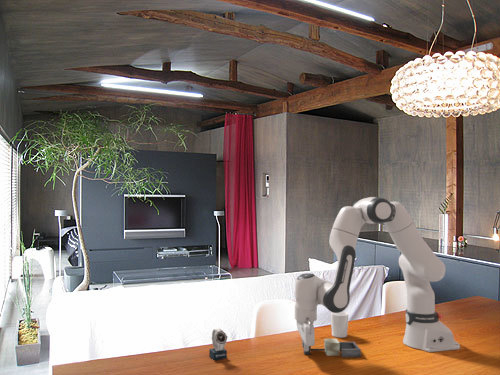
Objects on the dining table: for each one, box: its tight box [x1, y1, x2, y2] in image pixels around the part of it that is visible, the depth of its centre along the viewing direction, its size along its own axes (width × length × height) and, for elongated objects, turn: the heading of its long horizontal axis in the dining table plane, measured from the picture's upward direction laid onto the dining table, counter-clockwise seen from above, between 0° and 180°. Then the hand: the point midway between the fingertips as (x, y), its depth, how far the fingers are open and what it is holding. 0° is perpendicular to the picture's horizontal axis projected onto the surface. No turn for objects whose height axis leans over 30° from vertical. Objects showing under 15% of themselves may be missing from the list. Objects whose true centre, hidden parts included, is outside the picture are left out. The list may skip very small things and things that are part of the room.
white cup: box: [330, 310, 349, 339], centre depth 195 cm, size 8×8×10 cm
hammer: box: [303, 338, 341, 357], centre depth 174 cm, size 14×5×5 cm, turn 93°
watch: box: [208, 328, 229, 361], centre depth 169 cm, size 6×8×11 cm
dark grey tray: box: [339, 341, 362, 358], centre depth 174 cm, size 8×9×3 cm
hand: (305, 349), depth 173 cm, fingers closed
